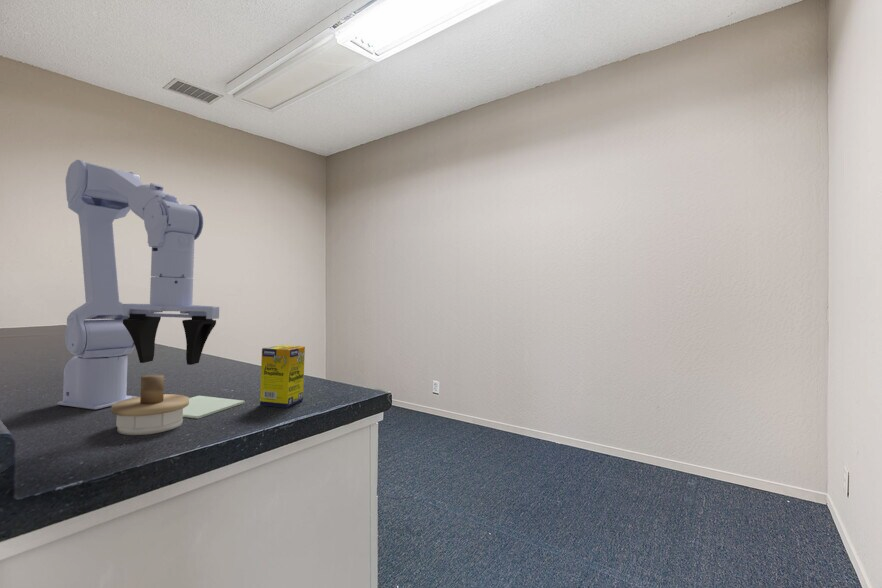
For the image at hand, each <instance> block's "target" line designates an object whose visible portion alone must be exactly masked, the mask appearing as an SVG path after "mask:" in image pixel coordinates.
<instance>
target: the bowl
mask: <svg viewBox="0 0 882 588" xmlns="http://www.w3.org/2000/svg"><path fill="white" fill-rule="evenodd" d="M115 416H116V419H115V420H116V422H115V423H116V424H115V426H116V427H117V433H119V434H120V435H121V434H122V435H127V436H141V435H142V436H143V435H152V434H153V435H154V434H158V433H162V432H163V433H164V432H167V431H171V430H174V429H177V428H179V427H180V426H182V424H183V421H184V419H183V418H184V417H183V408H182V409H179V410H176V411H172V412H168V413H163V414H156V415H147V416H119V415H115Z"/></svg>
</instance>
